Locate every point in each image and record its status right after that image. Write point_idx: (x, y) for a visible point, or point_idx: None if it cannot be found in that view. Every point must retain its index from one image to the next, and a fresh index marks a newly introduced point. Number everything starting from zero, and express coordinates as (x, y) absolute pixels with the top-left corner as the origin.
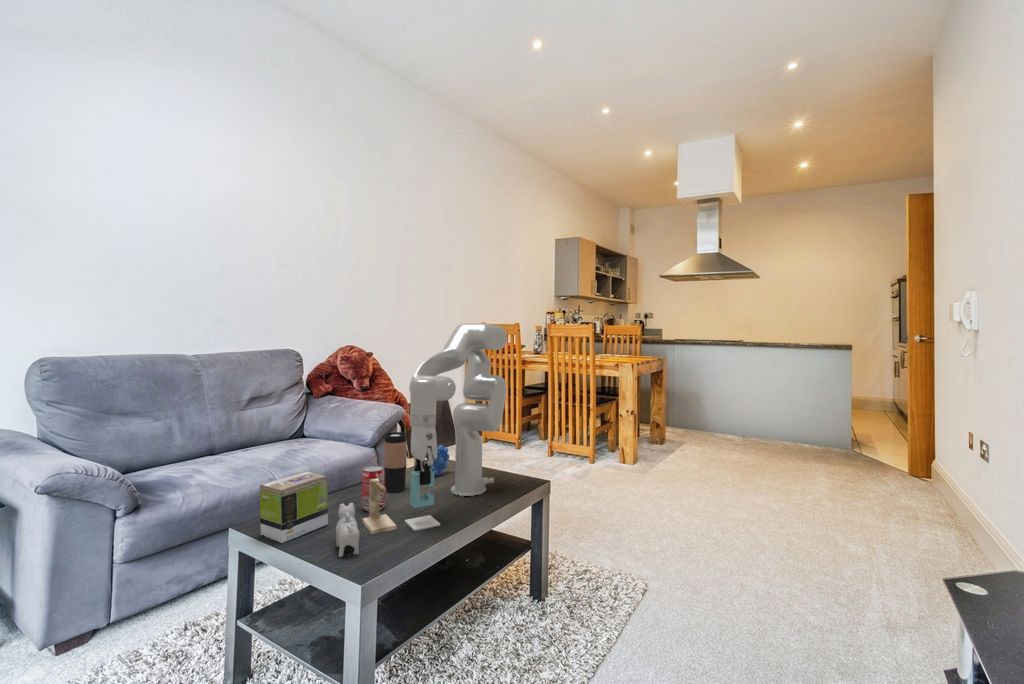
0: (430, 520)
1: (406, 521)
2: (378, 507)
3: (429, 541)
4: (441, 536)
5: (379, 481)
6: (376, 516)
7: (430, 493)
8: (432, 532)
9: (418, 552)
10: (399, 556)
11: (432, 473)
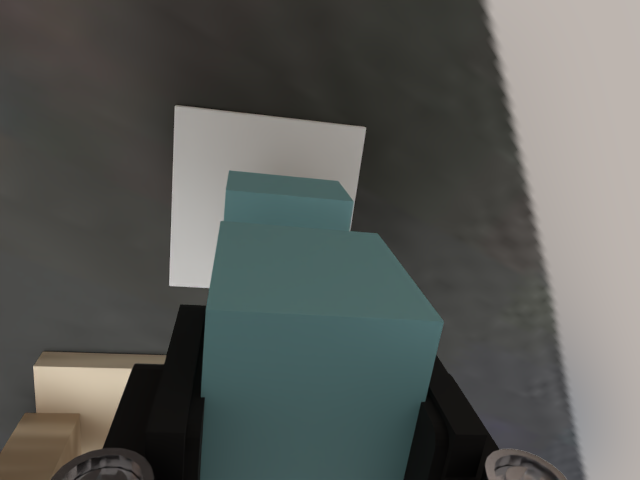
0: (273, 153)
1: (198, 286)
2: (56, 468)
3: (502, 279)
4: (497, 200)
5: None
6: (77, 436)
7: (270, 198)
8: (419, 216)
9: (557, 363)
10: (530, 433)
11: (430, 340)
